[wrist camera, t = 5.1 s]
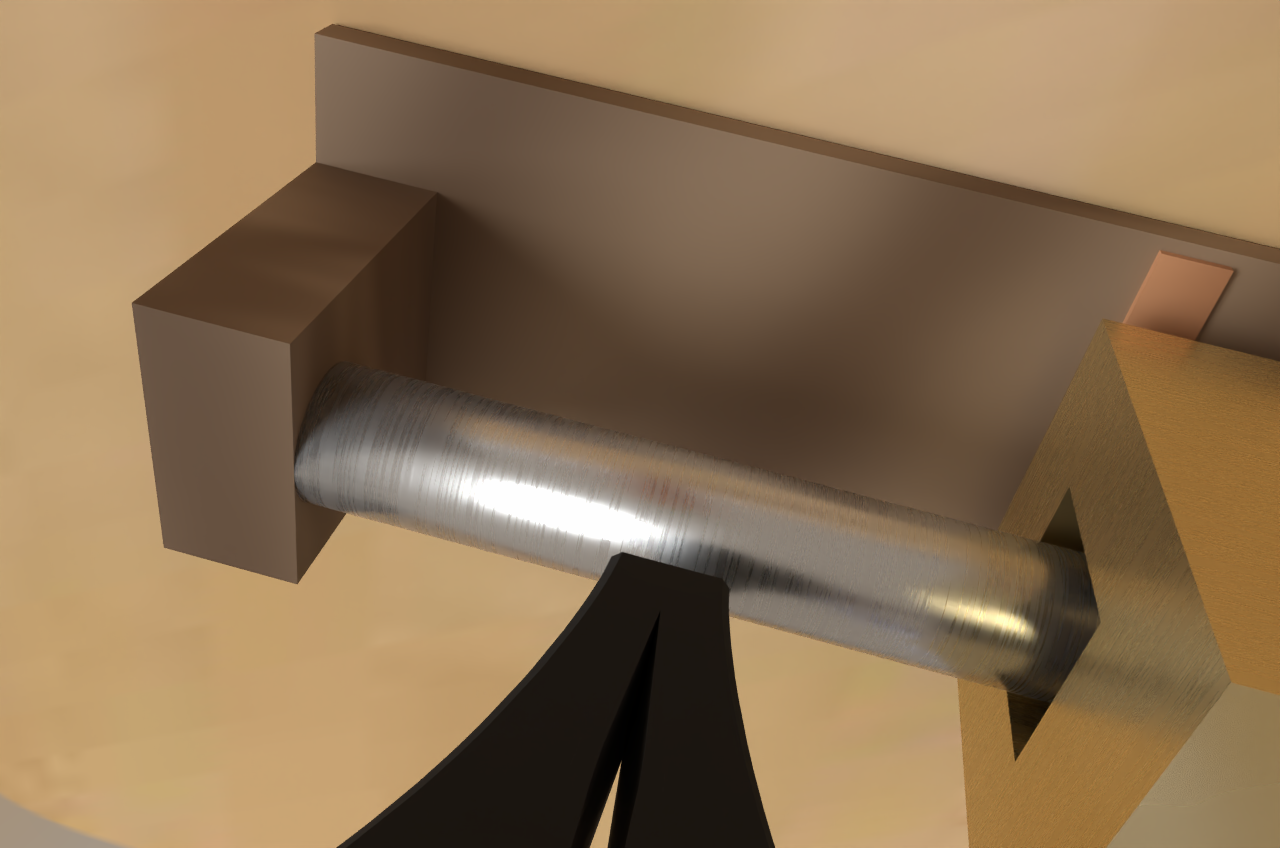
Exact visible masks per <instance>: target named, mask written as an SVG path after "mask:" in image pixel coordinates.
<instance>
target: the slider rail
mask: <svg viewBox="0 0 1280 848" xmlns="http://www.w3.org/2000/svg"><path fill="white" fill-rule="evenodd" d="M315 104H316V163H315V164H313V165H312V166H311V167H309V168H308V169H307V170H306V171H304V172H303V173H302V174H300V175H299V176H298V177H296V178H295V179H294V180H292V181H291V182H290V183H288V184H287V185H286V186H285V187H283V188H282V189H281V190H279V191H278V192H277V193H275V194H274V195H273V196H271V197H270V198H269V199H267V200H266V201H265V202H264V203H262V204H261V205H260V206H258V207H257V208H256V209H254V210H253V211H252V212H250V213H249V214H248V215H247V216H245V217H244V218H243V219H241V220H240V221H239V222H237V223H236V224H235V225H233V226H232V227H231V228H229V229H228V230H227V231H226V232H224V233H223V234H222V235H220V236H219V237H218V238H216V239H215V240H214V241H212V242H211V243H210V244H208V245H207V246H206V247H205V248H203V249H202V250H201V251H199V252H198V253H197V254H195V255H194V256H193V257H191V258H190V259H189V260H188V261H186V262H185V263H184V264H182V265H181V266H180V267H178V268H177V269H176V270H174V271H173V272H172V273H170V274H169V275H168V276H167V277H165V278H164V279H163V280H161V281H160V282H159V283H157V284H156V285H155V286H153V287H152V288H151V289H150V290H148V291H147V292H146V293H144V294H143V295H142V296H140V297H139V298H138V299H136V300H135V301H134V302H132V308H133V316H134V323H135V331H136V338H137V346H138V354H139V361H140V369H141V376H142V384H143V392H144V399H145V407H146V415H147V422H148V430H149V437H150V445H151V453H152V460H153V468H154V475H155V483H156V491H157V498H158V506H159V513H160V521H161V529H162V536H163V544H164V548H168V549H171V550H175V551H178V552H182V553H186V554H189V555H193V556H197V557H200V558H204V559H207V560H211V561H215V562H218V563H222V564H226V565H229V566H233V567H237V568H240V569H244V570H247V571H251V572H255V573H258V574H262V575H266V576H269V577H273V578H276V579H280V580H284V581H287V582H291V583H295V584H298V583H299V581H300V580H301V578H302V577H303V575H304V574H305V572H306V571H307V570H308V568H309V567H310V565H311V564H312V562H313V561H314V559H315V558H316V557H317V555H318V554H319V552H320V551H321V549H322V548H323V546H324V545H325V544H326V542H327V541H328V539H329V538H330V536H331V535H332V533H333V532H334V530H335V529H336V528H337V526H338V525H339V523H340V522H341V520H342V519H343V517H344V516H345V515H346V513H344V512H340V511H337V510H333V509H329V508H326V507H322V506H318V505H315V504H311V503H307V502H304V501H302V500H301V499H300V497H299V496H298V494H297V491H296V487H295V482H294V460H295V452H296V445H297V440H298V436H299V432H300V428H301V424H302V421H303V418H304V415H305V412H306V409H307V407H308V405H309V402H310V400H311V398H312V396H313V393H314V391H315V390H316V388H317V386H318V384H319V383H320V381H321V380H322V378H323V377H324V375H325V374H326V373H327V371H328V370H329V369H330V368H331V367H332V366H334V365H335V364H336V363H338V362H341V361H348V362H352V363H356V364H359V365H363V366H367V367H371V368H375V369H379V370H383V371H386V372H390V373H394V374H398V375H402V376H406V377H409V378H413V379H417V380H421V381H425V382H429V383H433V384H436V385H440V386H444V387H448V388H452V389H456V390H459V391H463V392H467V393H471V394H475V395H479V396H483V397H486V398H490V399H494V400H498V401H502V402H506V403H509V404H513V405H517V406H521V407H525V408H529V409H533V410H536V411H540V412H544V413H548V414H552V415H556V416H560V417H563V418H567V419H571V420H575V421H579V422H583V423H586V424H590V425H594V426H598V427H602V428H606V429H610V430H613V431H617V432H621V433H625V434H629V435H633V436H636V437H640V438H644V439H648V440H652V441H656V442H660V443H663V444H667V445H671V446H675V447H679V448H683V449H686V450H690V451H694V452H698V453H702V454H706V455H710V456H713V457H717V458H721V459H725V460H729V461H733V462H736V463H740V464H744V465H748V466H752V467H756V468H760V469H763V470H767V471H771V472H775V473H779V474H783V475H786V476H790V477H794V478H798V479H802V480H806V481H810V482H813V483H817V484H821V485H825V486H829V487H833V488H836V489H840V490H844V491H848V492H852V493H856V494H860V495H863V496H867V497H871V498H875V499H879V500H883V501H886V502H890V503H894V504H898V505H902V506H906V507H910V508H913V509H917V510H921V511H925V512H929V513H933V514H937V515H940V516H944V517H948V518H952V519H956V520H960V521H963V522H967V523H971V524H975V525H979V526H983V527H987V528H990V529H994V530H998V528H999V526H1000V524H1001V522H1002V520H1003V518H1004V516H1005V514H1006V512H1007V510H1008V508H1009V506H1010V504H1011V502H1012V500H1013V498H1014V496H1015V494H1016V492H1017V490H1018V488H1019V485H1020V483H1021V481H1022V479H1023V477H1024V475H1025V473H1026V471H1027V469H1028V467H1029V465H1030V463H1031V461H1032V459H1033V457H1034V455H1035V453H1036V451H1037V449H1038V447H1039V445H1040V443H1041V441H1042V439H1043V437H1044V435H1045V433H1046V431H1047V429H1048V427H1049V425H1050V423H1051V421H1052V419H1053V417H1054V415H1055V413H1056V411H1057V409H1058V407H1059V405H1060V403H1061V401H1062V399H1063V397H1064V395H1065V393H1066V391H1067V389H1068V386H1069V384H1070V382H1071V380H1072V378H1073V376H1074V374H1075V372H1076V370H1077V368H1078V366H1079V364H1080V362H1081V360H1082V358H1083V356H1084V354H1085V352H1086V350H1087V348H1088V346H1089V344H1090V342H1091V340H1092V338H1093V336H1094V334H1095V332H1096V330H1097V328H1098V326H1099V324H1100V322H1101V320H1102V318H1104V319H1108V320H1112V321H1116V322H1120V323H1124V324H1128V325H1133V326H1137V327H1141V328H1145V329H1149V330H1153V331H1157V332H1161V333H1165V334H1169V335H1173V336H1177V337H1182V338H1186V339H1190V340H1194V341H1198V342H1202V343H1206V344H1210V345H1214V346H1218V347H1222V348H1226V349H1231V350H1235V351H1239V352H1243V353H1247V354H1251V355H1255V356H1259V357H1263V358H1267V359H1271V360H1275V361H1280V249H1276V248H1272V247H1268V246H1264V245H1259V244H1255V243H1251V242H1247V241H1243V240H1238V239H1234V238H1230V237H1226V236H1222V235H1217V234H1213V233H1209V232H1205V231H1201V230H1196V229H1192V228H1188V227H1184V226H1180V225H1175V224H1171V223H1167V222H1163V221H1158V220H1154V219H1150V218H1146V217H1142V216H1137V215H1133V214H1129V213H1125V212H1121V211H1116V210H1112V209H1108V208H1104V207H1100V206H1095V205H1091V204H1087V203H1083V202H1079V201H1074V200H1070V199H1066V198H1062V197H1058V196H1053V195H1049V194H1045V193H1041V192H1037V191H1032V190H1028V189H1024V188H1020V187H1016V186H1011V185H1007V184H1003V183H999V182H995V181H990V180H986V179H982V178H978V177H974V176H969V175H965V174H961V173H957V172H953V171H948V170H944V169H940V168H936V167H932V166H927V165H923V164H919V163H915V162H911V161H906V160H902V159H898V158H894V157H889V156H885V155H881V154H877V153H873V152H868V151H864V150H860V149H856V148H852V147H847V146H843V145H839V144H835V143H831V142H826V141H822V140H818V139H814V138H810V137H805V136H801V135H797V134H793V133H789V132H784V131H780V130H776V129H772V128H768V127H763V126H759V125H755V124H751V123H747V122H742V121H738V120H734V119H730V118H726V117H721V116H717V115H713V114H709V113H705V112H700V111H696V110H692V109H688V108H684V107H679V106H675V105H671V104H667V103H663V102H658V101H654V100H650V99H646V98H642V97H637V96H633V95H629V94H625V93H621V92H616V91H612V90H608V89H604V88H599V87H595V86H591V85H587V84H583V83H578V82H574V81H570V80H566V79H562V78H557V77H553V76H549V75H545V74H541V73H536V72H532V71H528V70H524V69H520V68H515V67H511V66H507V65H503V64H499V63H494V62H490V61H486V60H482V59H478V58H473V57H469V56H465V55H461V54H457V53H452V52H448V51H444V50H440V49H436V48H431V47H427V46H423V45H419V44H415V43H410V42H406V41H402V40H398V39H394V38H389V37H385V36H381V35H377V34H373V33H368V32H364V31H360V30H356V29H352V28H347V27H343V26H339V25H335V24H332V25H330V26H328V27H326V28H324V29H322V30H320V31H319V32H317V33H315Z"/></svg>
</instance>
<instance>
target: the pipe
mask: <svg viewBox="0 0 1280 848" xmlns="http://www.w3.org/2000/svg"><path fill="white" fill-rule="evenodd" d="M294 482H295V487H296V491H297V494H298V496H299V497H300V499H301V500H302V501H304V502H307V503H311V504H315V505H318V506H322V507H326V508H329V509H333V510H337V511H340V512H344V513H348V514H352V515H355V516H359V517H363V518H366V519H370V520H374V521H378V522H381V523H385V524H389V525H392V526H396V527H400V528H403V529H407V530H411V531H415V532H418V533H422V534H426V535H429V536H433V537H437V538H440V539H444V540H448V541H452V542H455V543H459V544H463V545H466V546H470V547H474V548H478V549H481V550H485V551H489V552H492V553H496V554H500V555H503V556H507V557H511V558H515V559H518V560H522V561H526V562H529V563H533V564H537V565H541V566H544V567H548V568H552V569H555V570H559V571H563V572H566V573H570V574H574V575H578V576H581V577H585V578H589V579H592V580H596V581H599V579H600V577H601V576H602V574H603V572H604V570H605V568H606V566H607V564H608V562H609V560H610V558H611V556H614V555H616V554H619V553H621V552H625V553H628V554H632V555H636V556H640V557H643V558H647V559H651V560H654V561H658V562H662V563H666V564H669V565H673V566H677V567H680V568H684V569H688V570H692V571H695V572H699V573H703V574H707V575H710V576H714V577H718V578H721V579H723V580H724V581H725V583H726V584H727V585H728V587H729V588H730V592H729V617H733V618H737V619H741V620H744V621H748V622H752V623H755V624H759V625H763V626H766V627H770V628H774V629H778V630H781V631H785V632H789V633H792V634H796V635H800V636H803V637H807V638H811V639H815V640H818V641H822V642H826V643H829V644H833V645H837V646H841V647H844V648H848V649H852V650H855V651H859V652H863V653H866V654H870V655H874V656H878V657H881V658H885V659H889V660H892V661H896V662H900V663H904V664H907V665H911V666H915V667H918V668H922V669H926V670H929V671H933V672H937V673H941V674H944V675H948V676H952V677H955V678H959V679H963V680H966V681H970V682H974V683H978V684H981V685H985V686H989V687H992V688H996V689H1000V690H1004V691H1007V692H1011V693H1015V694H1018V695H1022V696H1026V697H1029V698H1033V699H1037V700H1041V701H1044V702H1048V703H1052V701H1053V700H1054V698H1055V696H1056V695H1057V693H1058V692H1059V690H1060V688H1061V687H1062V685H1063V683H1064V682H1065V680H1066V679H1067V677H1068V675H1069V674H1070V672H1071V670H1072V669H1073V667H1074V666H1075V664H1076V662H1077V661H1078V659H1079V657H1080V656H1081V654H1082V653H1083V651H1084V649H1085V648H1086V646H1087V644H1088V643H1089V641H1090V640H1091V638H1092V636H1093V635H1094V633H1095V631H1096V630H1097V628H1098V627H1099V625H1100V623H1101V620H1100V616H1099V611H1098V607H1097V603H1096V598H1095V594H1094V590H1093V586H1092V581H1091V577H1090V573H1089V568H1088V564H1087V560H1086V555H1085V553H1083V552H1079V551H1075V550H1071V549H1067V548H1063V547H1060V546H1056V545H1052V544H1048V543H1044V542H1040V541H1037V540H1033V539H1029V538H1025V537H1021V536H1017V535H1013V534H1010V533H1006V532H1002V531H998V530H994V529H990V528H987V527H983V526H979V525H975V524H971V523H967V522H963V521H960V520H956V519H952V518H948V517H944V516H940V515H937V514H933V513H929V512H925V511H921V510H917V509H913V508H910V507H906V506H902V505H898V504H894V503H890V502H886V501H883V500H879V499H875V498H871V497H867V496H863V495H860V494H856V493H852V492H848V491H844V490H840V489H836V488H833V487H829V486H825V485H821V484H817V483H813V482H810V481H806V480H802V479H798V478H794V477H790V476H786V475H783V474H779V473H775V472H771V471H767V470H763V469H760V468H756V467H752V466H748V465H744V464H740V463H736V462H733V461H729V460H725V459H721V458H717V457H713V456H710V455H706V454H702V453H698V452H694V451H690V450H686V449H683V448H679V447H675V446H671V445H667V444H663V443H660V442H656V441H652V440H648V439H644V438H640V437H636V436H633V435H629V434H625V433H621V432H617V431H613V430H610V429H606V428H602V427H598V426H594V425H590V424H586V423H583V422H579V421H575V420H571V419H567V418H563V417H560V416H556V415H552V414H548V413H544V412H540V411H536V410H533V409H529V408H525V407H521V406H517V405H513V404H509V403H506V402H502V401H498V400H494V399H490V398H486V397H483V396H479V395H475V394H471V393H467V392H463V391H459V390H456V389H452V388H448V387H444V386H440V385H436V384H433V383H429V382H425V381H421V380H417V379H413V378H409V377H406V376H402V375H398V374H394V373H390V372H386V371H383V370H379V369H375V368H371V367H367V366H363V365H359V364H356V363H352V362H348V361H341V362H338V363H336V364H335V365H334V366H332V367H331V368H330V369H329V370H328V371H327V373H326V374H325V375H324V377H323V378H322V380H321V381H320V383H319V384H318V386H317V388H316V390H315V391H314V393H313V396H312V398H311V400H310V402H309V405H308V407H307V409H306V412H305V415H304V418H303V421H302V424H301V428H300V432H299V436H298V440H297V445H296V452H295V460H294Z"/></svg>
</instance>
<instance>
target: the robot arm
mask: <svg viewBox="0 0 1280 848" xmlns="http://www.w3.org/2000/svg"><path fill="white" fill-rule="evenodd" d="M729 592H730V588H729V587H728V585H727V584H726V583H725V581H724V580H723V579H721V578H718V577H714V576H710V575H707V574H703V573H699V572H695V571H692V570H688V569H684V568H680V567H677V566H673V565H669V564H666V563H662V562H658V561H654V560H651V559H647V558H643V557H640V556H636V555H632V554H628V553H625V552H621V553H619V554H616V555H614V556H611V558H610V560H609V562H608V564H607V566H606V568H605V570H604V572H603V574H602V576H601V577H600V579H599V581H598V582H597V584H596V586H595V587H594V589H593V590H592V592H591V593H590V595H589V596H588V598H587V599H586V601H585V602H584V604H583V605H582V606H581V608H580V609H579V610H578V612H577V613H576V615H575V616H574V617H573V619H572V620H571V621H570V623H569V624H568V625H567V627H566V628H565V629H564V631H563V632H562V633H561V634H560V635H559V637H558V638H557V639H556V640H555V642H554V643H553V644H552V645H551V646H550V648H549V649H548V650H547V651H546V652H545V654H544V655H543V656H542V657H541V659H540V660H539V661H538V662H537V663H536V665H535V666H534V667H533V668H532V669H531V671H530V672H529V673H528V674H527V675H526V676H525V677H524V679H523V680H522V681H521V682H520V683H519V684H518V685H517V686H516V687H515V688H514V689H513V690H512V691H511V692H510V693H509V695H508V696H507V697H506V698H505V699H504V700H503V701H502V702H501V703H500V704H499V705H498V706H497V707H496V708H495V709H494V710H493V712H492V713H491V714H490V715H489V716H488V717H487V718H486V719H485V720H484V721H483V722H482V723H481V724H480V725H479V726H478V727H477V728H476V729H475V730H474V731H473V732H472V733H471V734H470V735H469V736H468V737H467V738H466V739H465V740H464V741H463V742H462V743H461V744H460V745H459V746H458V747H456V748H455V749H454V750H453V751H452V752H451V753H450V754H449V755H448V756H447V757H446V758H445V759H444V760H442V761H441V762H440V763H439V764H438V765H437V766H436V767H435V768H434V769H432V770H431V771H430V772H429V773H428V774H427V775H426V776H425V777H424V778H422V779H421V780H420V781H419V782H418V783H417V784H415V785H414V786H413V787H412V788H411V789H409V790H408V791H407V792H406V793H405V794H403V795H402V796H401V797H400V798H399V799H397V800H396V801H395V802H394V803H393V804H391V805H390V806H389V807H388V808H386V809H385V810H384V811H383V812H382V813H380V814H379V815H378V816H377V817H376V818H374V819H373V820H372V821H371V822H369V823H368V824H367V825H365V826H364V827H363V828H362V829H360V830H359V831H358V832H356V833H355V834H354V835H353V836H351V837H350V838H349V839H347V840H346V841H345V842H343V843H342V844H341V845H339V846H338V847H337V848H590V845H591V843H592V840H593V837H594V834H595V832H596V829H597V826H598V823H599V821H600V818H601V815H602V813H603V810H604V807H605V804H606V802H607V799H608V796H609V793H610V791H611V788H612V785H613V782H614V780H615V777H616V774H617V771H618V769H619V766H620V763H621V768H620V774H619V780H618V787H617V793H616V799H615V805H614V811H613V817H612V823H611V830H610V836H609V842H608V848H775V846H774V842H773V839H772V836H771V833H770V829H769V826H768V822H767V819H766V816H765V812H764V809H763V805H762V801H761V797H760V793H759V790H758V786H757V782H756V778H755V774H754V770H753V766H752V762H751V757H750V753H749V749H748V745H747V740H746V734H745V729H744V724H743V719H742V714H741V709H740V704H739V699H738V693H737V686H736V680H735V674H734V665H733V657H732V649H731V638H730V624H729ZM621 760H622V762H621Z"/></svg>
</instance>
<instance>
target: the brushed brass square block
mask: <svg viewBox="0 0 1280 848" xmlns="http://www.w3.org/2000/svg"><path fill="white" fill-rule="evenodd" d="M998 531H1002V532H1006V533H1010V534H1013V535H1017V536H1021V537H1025V538H1029V539H1033V540H1037V541H1040V542H1044V543H1048V544H1052V545H1056V546H1060V547H1063V548H1067V549H1071V550H1075V551H1079V552H1083V553H1085V555H1086V560H1087V564H1088V568H1089V573H1090V577H1091V581H1092V586H1093V590H1094V594H1095V598H1096V603H1097V607H1098V611H1099V616H1100V620H1101V623H1100V625H1099V627H1098V628H1097V630H1096V631H1095V633H1094V635H1093V636H1092V638H1091V640H1090V641H1089V643H1088V644H1087V646H1086V648H1085V649H1084V651H1083V653H1082V654H1081V656H1080V657H1079V659H1078V661H1077V662H1076V664H1075V666H1074V667H1073V669H1072V670H1071V672H1070V674H1069V675H1068V677H1067V679H1066V680H1065V682H1064V683H1063V685H1062V687H1061V688H1060V690H1059V692H1058V693H1057V695H1056V696H1055V698H1054V700H1053V701H1052V703H1048V702H1044V701H1041V700H1037V699H1033V698H1029V697H1026V696H1022V695H1018V694H1015V693H1011V692H1007V691H1004V690H1000V689H996V688H992V687H989V686H985V685H981V684H978V683H974V682H970V681H966V680H963V679H959V678H958V693H959V707H960V722H961V736H962V751H963V765H964V780H965V794H966V809H967V824H968V838H969V848H1280V361H1275V360H1271V359H1267V358H1263V357H1259V356H1255V355H1251V354H1247V353H1243V352H1239V351H1235V350H1231V349H1226V348H1222V347H1218V346H1214V345H1210V344H1206V343H1202V342H1198V341H1194V340H1190V339H1186V338H1182V337H1177V336H1173V335H1169V334H1165V333H1161V332H1157V331H1153V330H1149V329H1145V328H1141V327H1137V326H1133V325H1128V324H1124V323H1120V322H1116V321H1112V320H1108V319H1104V318H1102V320H1101V322H1100V324H1099V326H1098V328H1097V330H1096V332H1095V334H1094V336H1093V338H1092V340H1091V342H1090V344H1089V346H1088V348H1087V350H1086V352H1085V354H1084V356H1083V358H1082V360H1081V362H1080V364H1079V366H1078V368H1077V370H1076V372H1075V374H1074V376H1073V378H1072V380H1071V382H1070V384H1069V386H1068V389H1067V391H1066V393H1065V395H1064V397H1063V399H1062V401H1061V403H1060V405H1059V407H1058V409H1057V411H1056V413H1055V415H1054V417H1053V419H1052V421H1051V423H1050V425H1049V427H1048V429H1047V431H1046V433H1045V435H1044V437H1043V439H1042V441H1041V443H1040V445H1039V447H1038V449H1037V451H1036V453H1035V455H1034V457H1033V459H1032V461H1031V463H1030V465H1029V467H1028V469H1027V471H1026V473H1025V475H1024V477H1023V479H1022V481H1021V483H1020V485H1019V488H1018V490H1017V492H1016V494H1015V496H1014V498H1013V500H1012V502H1011V504H1010V506H1009V508H1008V510H1007V512H1006V514H1005V516H1004V518H1003V520H1002V522H1001V524H1000V526H999V528H998Z"/></svg>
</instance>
